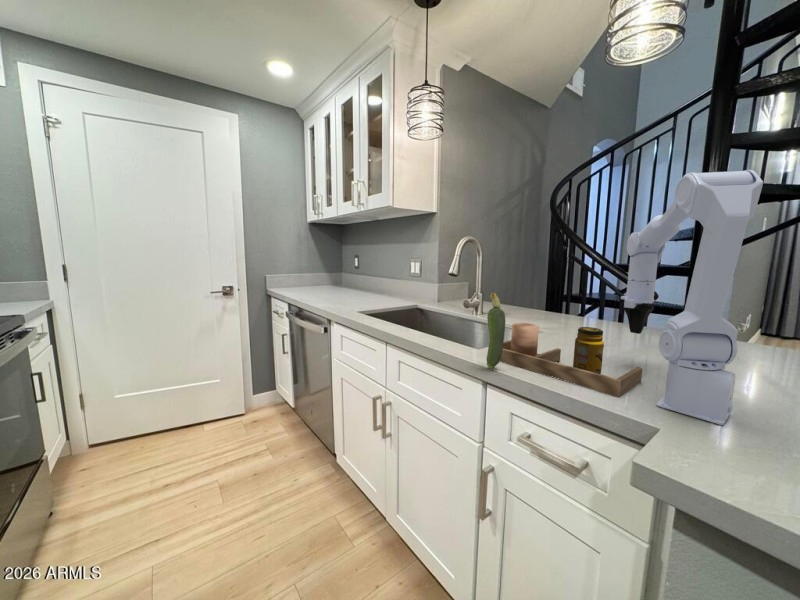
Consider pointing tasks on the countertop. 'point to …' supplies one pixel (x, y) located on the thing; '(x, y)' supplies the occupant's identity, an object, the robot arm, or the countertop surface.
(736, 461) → the countertop surface
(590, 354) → the condiment
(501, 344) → the vegetable
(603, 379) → the caddy
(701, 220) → the robot arm
